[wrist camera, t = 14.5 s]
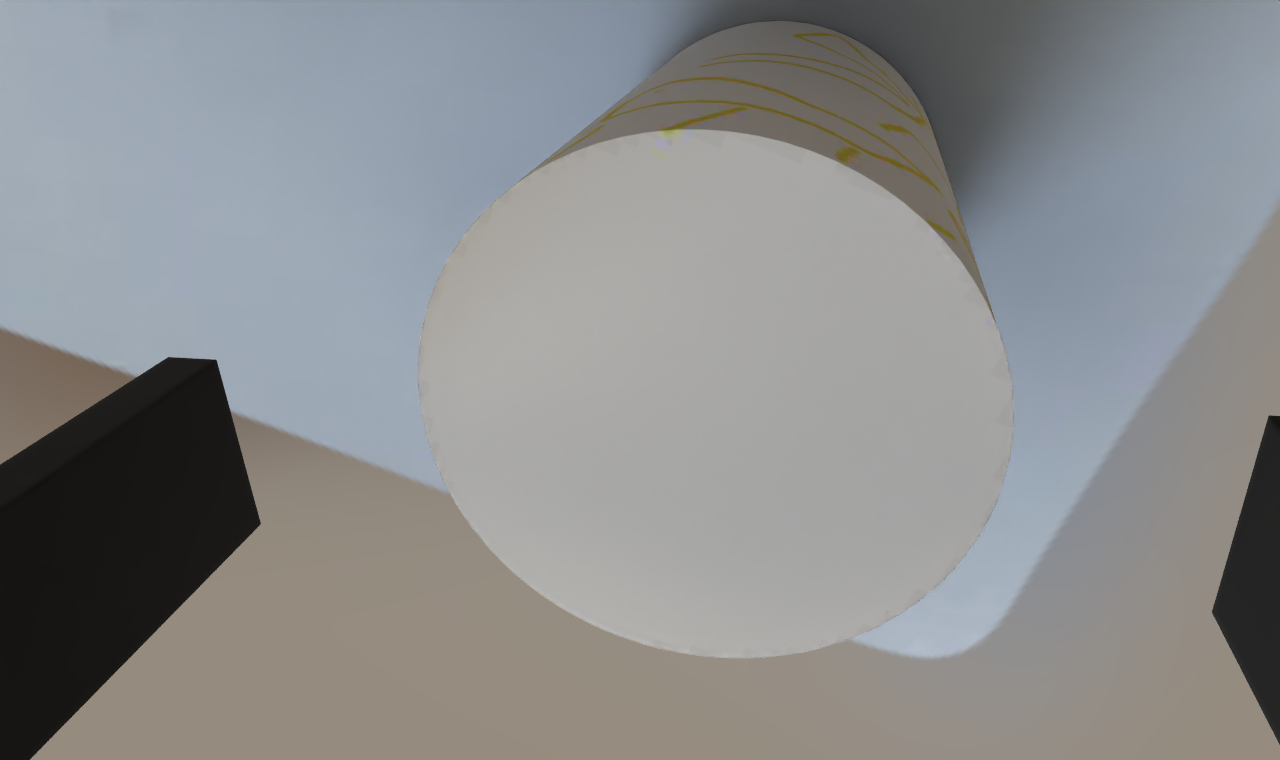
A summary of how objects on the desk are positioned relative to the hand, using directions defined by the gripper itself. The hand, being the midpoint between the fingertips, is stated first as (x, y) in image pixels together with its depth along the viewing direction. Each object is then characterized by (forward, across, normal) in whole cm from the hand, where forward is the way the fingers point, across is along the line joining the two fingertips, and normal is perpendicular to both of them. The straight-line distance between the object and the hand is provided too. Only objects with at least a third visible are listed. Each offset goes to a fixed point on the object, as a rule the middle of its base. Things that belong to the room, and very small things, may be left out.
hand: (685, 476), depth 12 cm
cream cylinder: (+13, 0, 0) cm, 13 cm away
